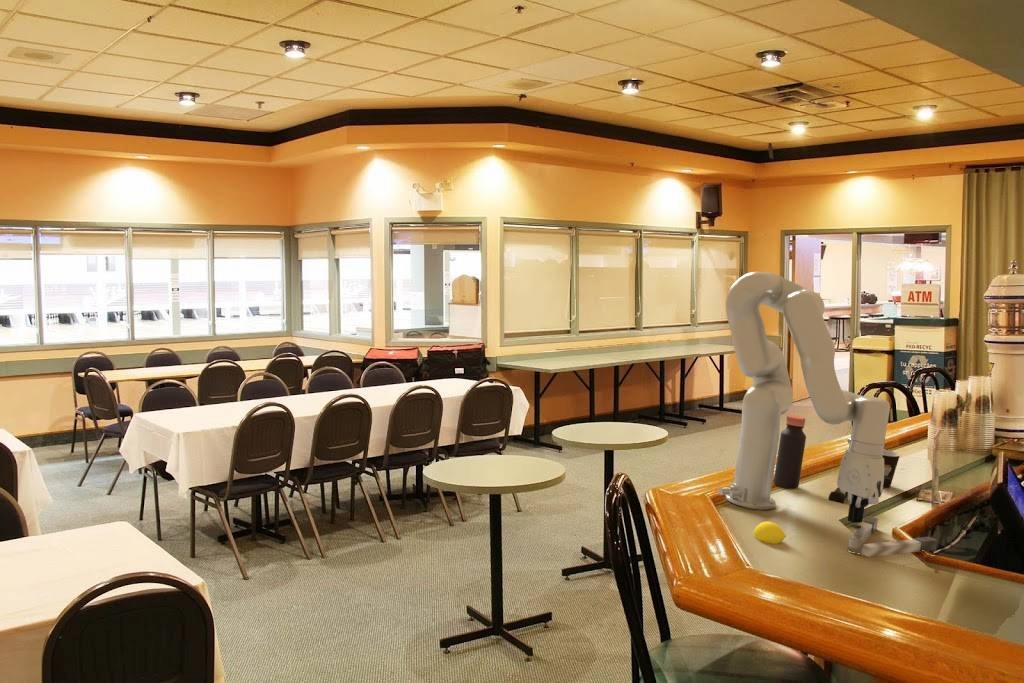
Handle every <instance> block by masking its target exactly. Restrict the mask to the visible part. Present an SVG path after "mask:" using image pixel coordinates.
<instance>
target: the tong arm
mask: <svg viewBox="0 0 1024 683" xmlns="http://www.w3.org/2000/svg"><path fill="white" fill-rule="evenodd" d="M878 522H879V518H877V517H873V516H869V515H868V516H867V517H866V518H865V520H863V522H862V524H861V526H860V527H859V528H858V529H857V530H856V531H855V532H854V533H853V535H852V536H851V539H858V540H861V541H862V542H863V544H865V542H866V541H867V539H868V538H870V536H871V535H873V534H874V533H875V532H876V531H877V528H878Z"/></svg>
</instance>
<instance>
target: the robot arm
mask: <svg viewBox="0 0 1024 683" xmlns="http://www.w3.org/2000/svg"><path fill="white" fill-rule="evenodd" d="M762 305H765V306H767V307H770V308H771V309H773V310H776V311H777V312H780V313H782V315H783V317H784V321H785V322H786V325H787V327H788V330H789V332H790V335H791V338H792V340H793V343H794V346H795V348H796V350H797V353H798V356H799V359H800V366H801V367H800V368H801V370H802V375H803V379H804V384H805V387H806V390H807V393H808V395H809V398H810V401H811V403H812V405H813V408H814V410H815V412H816V415H817V416H818V417H819V419H820V420H821V421H822V422H824V423H826V424H829V425H834V426H835V425H839V424H842V423H844V422H850V421H851V422H852V428H851V433H850V437H849V438H848V439H847V443H848V444H849V447H848V448H846V449H845V451H844V453H843V456H842V458H841V462H840V465H839V468H838V472H837V480H836V486H837V488H838V487H839V488H840V491H841V492H842V493H844V494H845V495H846V497H847V498H846V499H847V504H848V505H849V508H848V514H847V515H848V516H847V521H848V522H850V523H852V524H857V523H859V524H860V523H863V518H864V513H865V508H867V507H868V506H869V505H878V504H879V502H880V499H879V498H881V497H882V494H883V489H884V488H883V483H884V458H883V457H882V455H883V449H884V448H885V441H886V436H887V435H886V434H887V429H888V423H889V417H890V416H889V415H890V411H891V405H890V402H889V401H888V400H886V399H884V398H880V397H875V396H869V395H866V396H865V395H861V394H857V393H854V392H853V391H852V392H851V391H847V390H843V389H842V388H841V386H840V383H839V381H838V380H839V379H838V377H837V373H836V369H835V357H836V356H835V355H836V348H835V343H834V342H833V341H834V340H833V339H832V337H831V333H830V332H829V327H827V324H826V321H825V319H824V316H823V315H824V313H825V302H824V300H823V298H822V296H820V294H819V293H818V292H815V291H814V290H811V289H808V288H807V287H804V286H802V285H800V284H798V283H795V282H794V281H792V280H789V279H787V278H785V277H783V276H780V275H778V274H776V273H773V272H769V271H768V272H767V271H766V272H765V271H750V272H747V273H744V275H742V276H740V277H739V278H738V279H737V280H736V281H734V283H733V284H732V285H731V287H730V288H729V290H728V292H727V294H726V299H725V312H726V313H725V314H726V318H727V321H728V325H729V330H730V334H731V340H732V343H733V349H734V353H735V357H736V361H737V366H738V369H739V370H740V372H741V373H742V374H743V375H744V376H745V377H748V378H751V379H752V380H753V381H752V382H753V385H752V386H751V387H749V389H748V390H747V391H746V393H745V394H744V396H743V399H742V403H741V404H742V405H741V425H740V426H741V427H740V434H739V435H740V436H739V443H738V444H739V445H738V450H737V457H736V465H735V471H734V478H733V482H730V483H729V484H730V485H729V486H727V487H726V486H725V487H718V489H717V492H718V495H720V496H726V497H725V499H726V500H727V501H728V502H730V503H732V504H734V505H737V506H740V507H743V508H747V509H752V510H753V509H754V510H773V509H774V508H776V504H777V503H776V500H774V498H772V497H771V493H772V487H773V482H774V476H775V469H776V462H777V456H778V449H779V442H780V433H781V432H780V430H781V428H780V425H781V423H780V422H781V415H784V414H785V413H786V412H788V411H789V410H790V408H791V407H792V404H793V402H794V394H793V393H794V392H793V388H792V384H791V379H790V375H789V370H788V368H787V363H786V358H785V357H784V356H785V355H784V353H783V351H782V350H781V348H780V347H779V346H778V345H777V343H775V342H773V341H771V340H768V336H767V332H766V328H765V324H764V323H765V322H764V320H763V318H762V315H761V313H760V307H761V306H762ZM884 450H885V449H884Z"/></svg>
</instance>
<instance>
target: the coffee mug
mask: <svg viewBox="0 0 1024 683" xmlns="http://www.w3.org/2000/svg"><path fill="white" fill-rule="evenodd" d="M882 457H883V458H884V483H883V489H889V488H888V487H890V488H891V485H892V483H893V479H894V476H895V472H896V469H897V466H898V462H899V460H900V458H901V454H900V453H898V452H895V451H893V450H890V449H889V450H887V449H883V455H882Z"/></svg>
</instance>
